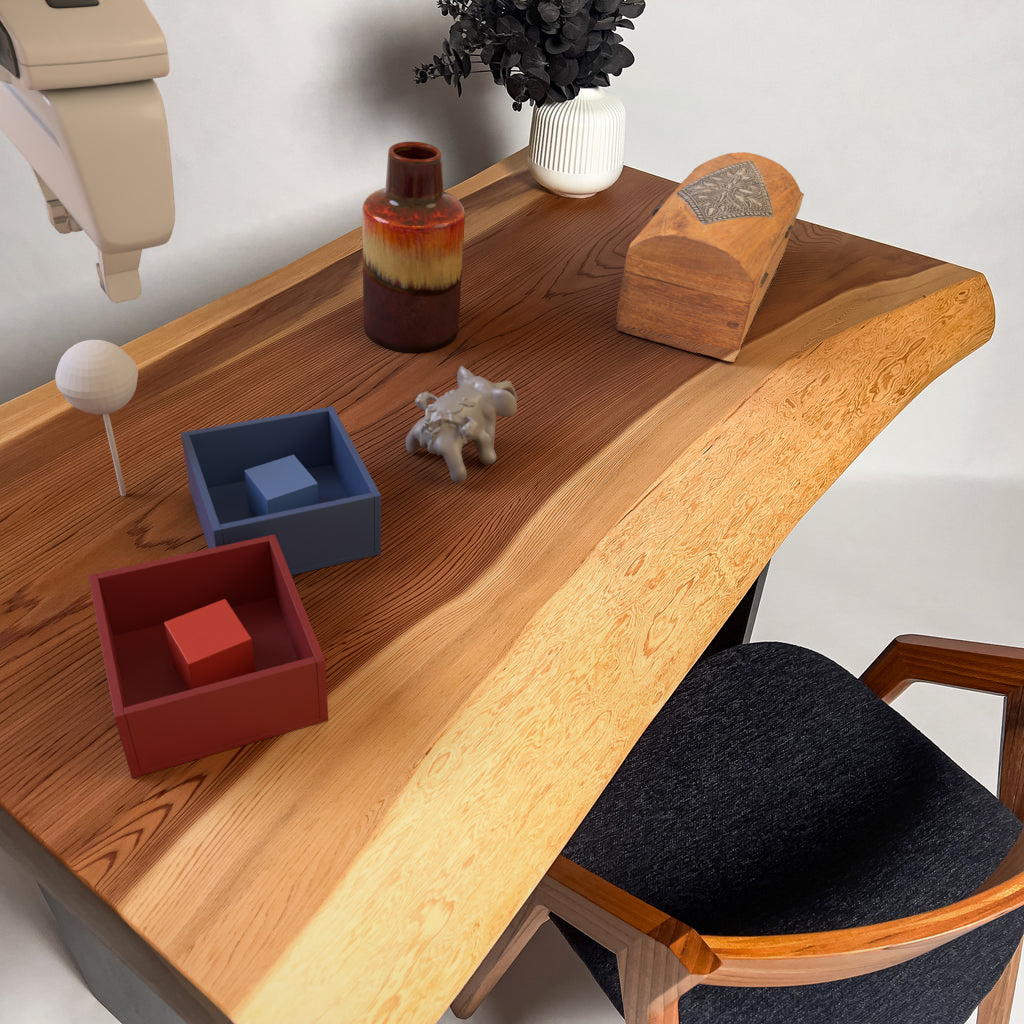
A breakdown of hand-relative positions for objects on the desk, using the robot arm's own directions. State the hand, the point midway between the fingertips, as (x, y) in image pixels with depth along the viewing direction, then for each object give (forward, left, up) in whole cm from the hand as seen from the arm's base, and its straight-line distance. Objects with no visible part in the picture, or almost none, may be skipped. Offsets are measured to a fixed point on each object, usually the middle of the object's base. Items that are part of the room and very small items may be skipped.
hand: (94, 260), depth 56 cm
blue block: (+11, +7, -29) cm, 31 cm away
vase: (+33, +35, -29) cm, 56 cm away
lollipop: (-1, +15, -29) cm, 33 cm away
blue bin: (+11, +7, -29) cm, 32 cm away
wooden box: (+71, +33, -29) cm, 84 cm away
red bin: (+2, -8, -29) cm, 30 cm away
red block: (+2, -8, -29) cm, 30 cm away
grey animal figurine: (+30, +12, -29) cm, 44 cm away
